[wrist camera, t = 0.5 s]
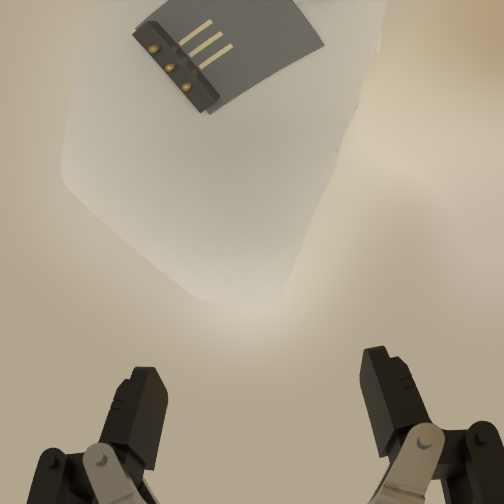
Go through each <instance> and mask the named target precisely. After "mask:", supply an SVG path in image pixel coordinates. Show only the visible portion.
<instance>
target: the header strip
mask: <svg viewBox="0 0 504 504" xmlns="http://www.w3.org/2000/svg"><path fill="white" fill-rule="evenodd" d="M132 35H133V36H134V37H135V38H136V40H137V41H138V42H139V43H140V44H141V45H142V46H143V47H144V48H145V50H146V51H147V52H148V53H149V54H150V55H151V56H152V57H153V58H154V60H155V61H156V62H157V63H158V64H159V65H160V66H161V68H162V69H163V70H164V71H165V66H166V65H168V64H171V63H176V64H177V68H176V69H174V70H172V71H170V72H167V71H165V72H166V73H167V74H168V76H169V77H170V78H171V79H172V80H173V81H174V83H175V84H176V85H177V86H178V87H179V88H180V90H181V91H182V92H183V93H184V94H185V95H186V97H187V98H188V99H189V100H190V101H191V103H192V104H193V105H194V106H195V107H196V108H197V110H198V111H199V112H200V113H201V112H203V111H204V110H205V109H207V108H208V107H210V106H211V105H212V104H214V103H215V102H217V100H218V99H219V98H220V95H219V93H218V92H217V91H216V90H215V88H214V87H213V86H212V85H211V83H210V82H209V81H208V80H207V79H206V77H205V76H204V75H203V74H202V73H201V71H200V70H199V69H198V68H197V67H196V65H195V64H194V63H193V62H192V61H191V60H190V58H189V57H188V56H187V55H186V54H185V53H184V51H183V50H182V49H181V48H180V47H179V46H178V44H177V43H176V42H175V41H174V40H173V39H172V38H171V37H170V35H169V34H168V33H167V32H166V31H165V30H164V29H163V28H162V27H161V25H160V24H159V23H158V22H157V21H147V22H145V23H144V24H143V25H142V26H141V27H140V28H139V29H138V30H136V31H135V32H134V33H133V34H132ZM154 45H160V46H161V50H160V51H158V52H154V53H150V52H149V51H148V48H149V47H150V46H154ZM188 81H191V82H192V83H193V86H192V87H191V88H190V89H189V90H187V91H183V90H182V89H181V87H182V85H183V84H185V83H186V82H188Z"/></svg>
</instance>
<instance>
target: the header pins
mask: <svg viewBox="0 0 504 504" xmlns="http://www.w3.org/2000/svg"><path fill="white" fill-rule="evenodd" d="M160 50H161V46H160V45H154V46H150V47H149V48H148V51H149V52H150V53H154V52H158V51H160ZM176 68H177V64H176V63H171V64H168V65H166V66H165V71H167V72H170V71H172V70H174V69H176ZM192 86H193V83H192V82H191V81H188V82H186V83H185V84H183V85H182V87H181V89H182V90H183V91H187V90H189V89H190V88H191V87H192Z"/></svg>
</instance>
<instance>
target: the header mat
mask: <svg viewBox="0 0 504 504" xmlns="http://www.w3.org/2000/svg"><path fill="white" fill-rule="evenodd" d="M147 21H157V22H158V23H159V24H160V25H161V27H162V28H163V29H164V30H165V31H166V32H167V33H168V34H169V35H170V37H171V38H172V39H173V40H174V41H175V42H176V43H177V44H178V46H179V47H180V48H181V49H182V50H183V51H184V53H185V54H186V55H187V56H188V57H189V58H190V60H191V61H192V62H193V63H194V64H195V65H196V67H197V68H198V69H199V70H200V71H201V73H202V74H203V75H204V76H205V77H206V79H207V80H208V81H209V82H210V83H211V85H212V86H213V87H214V88H215V90H216V91H217V92H218V93H219V95H220V98H219V99H218V100H217V102H215V103H214V104H212V105H211V106H210V107H208V108H207V109H206V111H207V112H208V113H209V114H211V113H213V112H214V111H216V110H217V109H219V108H220V107H221V106H223V105H224V104H226V103H227V102H229V101H230V100H232V99H233V98H235V97H236V96H238V95H239V94H241V93H243V92H244V91H246V90H247V89H249V88H250V87H252V86H254V85H255V84H257V83H258V82H260V81H262V80H263V79H265V78H267V77H268V76H270V75H272V74H273V73H275V72H277V71H278V70H280V69H282V68H284V67H285V66H287V65H289V64H291V63H292V62H294V61H296V60H298V59H300V58H301V57H303V56H305V55H307V54H309V53H311V52H313V51H315V50H317V49H318V48H320V47H322V46H324V44H323V42H322V41H321V39H320V38H319V36H318V35H317V33H316V32H315V30H314V29H313V27H312V26H311V25H310V23H309V22H308V20H307V19H306V18H305V16H304V15H303V14H302V12H301V11H300V10H299V8H298V7H297V6H296V4H295V3H294V2H293V0H168V1H167V2H166V3H165V4H163V5H162V6H161V7H160V8H158V9H157V10H156V11H155V12H154V13H152V14H151V15H150V16H149V17H148V18H147V19H145V20H144V21H143V22H142V23H141V24H140V25H139V26H138V27H136V28H135V29H136V30H138V29H139V28H140V27H141V26H142V25H143V24H144V23H145V22H147Z"/></svg>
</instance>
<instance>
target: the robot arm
mask: <svg viewBox="0 0 504 504" xmlns="http://www.w3.org/2000/svg"><path fill="white" fill-rule="evenodd" d="M360 386H361V390H362V393H363V397H364V401H365V404H366V408H367V411H368V415H369V419H370V422H371V426H372V429H373V434H374V437H375V441H376V445H377V449H378V453H379V457H380V458H381V457H385V456H388V457H389V461H390V464H389V466H388V469H387V470H386V472H385V474H384V476H383V478H382V480H381V481H380V483H379V485H378V487H377V489H376V490H375V492H374V494H373V496H372V497H371V499H370V501H369V502H368V504H424V502H425V497H424V495H425V492H426V490H427V487H428V485H429V483H430V480H435V479H436V480H437V479H440V480H441V484H442V488H443V493H444V498H445V503H446V504H504V446H503V444H502V441H501V438H500V436H499V433H498V431H497V429H496V427H495V426H494V425H493V424H492V423H490V422H487V421H479V422H476V423H474V424H473V425H471V427H470V428H469V429H468V430H443V429H441V428H439V427H438V426H437V425H435V424H433V423H432V421H431V420H430V418H429V416H428V413H427V411H426V408H425V406H424V403H423V401H422V398H421V396H420V394H419V391H418V389H417V387H416V384H415V382H414V380H413V378H412V375H411V373H410V371H409V368H408V366H407V364H405V363H404V362H403V361H402V360H401V359H400V358H399V357H398V356H397V357H393V358H390V357H389V355H388V352H387V350H386V348H385V347H384V346H378V347H373V348H368V349H364V352H363V358H362V364H361V370H360ZM113 400H114V401H113V402H112V404H111V409H110V410H109V413H108V416H107V419H106V422H105V424H104V428H103V431H102V433H101V437H100V439H99V442H98V443H96V444H93V445H91V446H90V447H88V448H87V450H86V451H85V452H84V453H75V454H64V453H63V452H62V451H61V450H60V449H58V448H49V449H47V450H45V451H44V452H43V453H42V454H41V456H40V459H39V461H38V465H37V468H36V471H35V474H34V478H33V481H32V485H31V489H30V492H29V496H28V500H27V504H159V502H158V500H157V499H156V497H155V496H154V494H153V492H152V491H151V489H150V487H149V486H148V484H147V482H146V480H145V479H144V477H143V474H144V469H145V470H153V471H154V467H155V462H156V457H157V452H158V447H159V442H160V437H161V433H162V428H163V423H164V418H165V414H166V409H167V405H168V393H167V390H166V388H165V386H164V384H163V382H162V380H161V378H160V376H159V374H158V373H157V371H156V369H155V368H154V367H135V368H134V370H133V372H132V375H131V378H130V379H125V380H124V381H123V382H122V383H121V385H120V386H119V387H118V388H117V390H116V393H115V396H114V399H113ZM66 496H67V497H66Z"/></svg>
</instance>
